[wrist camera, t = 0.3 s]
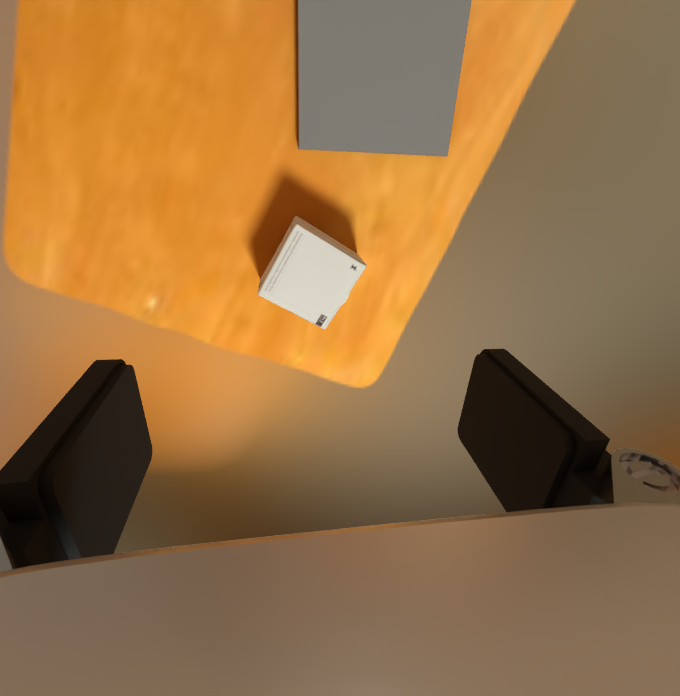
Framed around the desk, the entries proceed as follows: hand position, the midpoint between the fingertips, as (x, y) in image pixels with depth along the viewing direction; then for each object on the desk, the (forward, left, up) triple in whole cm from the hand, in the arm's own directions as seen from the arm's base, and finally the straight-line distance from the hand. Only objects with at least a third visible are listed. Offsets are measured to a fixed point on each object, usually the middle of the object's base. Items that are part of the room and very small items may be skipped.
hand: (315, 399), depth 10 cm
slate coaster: (-13, +8, -31) cm, 34 cm away
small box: (+5, +2, -31) cm, 31 cm away
